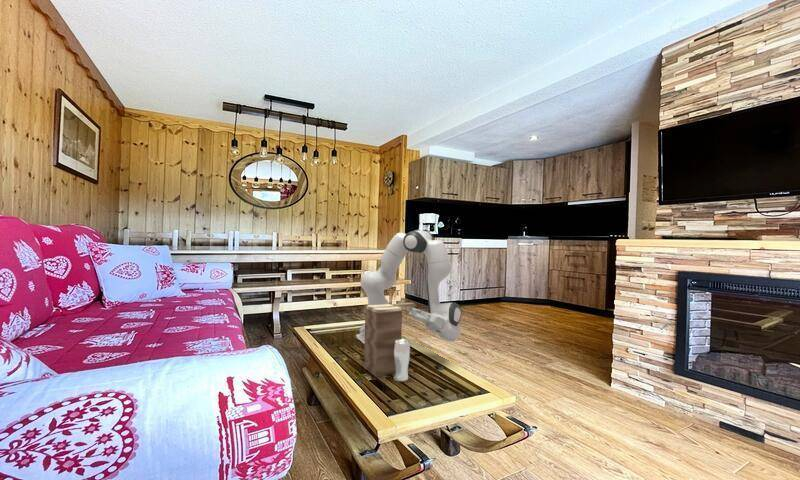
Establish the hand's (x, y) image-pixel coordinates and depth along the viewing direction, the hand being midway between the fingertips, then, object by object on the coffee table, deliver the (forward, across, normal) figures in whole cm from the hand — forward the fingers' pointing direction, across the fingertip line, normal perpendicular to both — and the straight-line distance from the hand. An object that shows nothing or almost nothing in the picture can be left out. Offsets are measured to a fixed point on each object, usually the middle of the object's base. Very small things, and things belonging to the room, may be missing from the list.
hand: (414, 310), depth 156 cm
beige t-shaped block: (+11, 0, +4) cm, 12 cm away
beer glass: (0, +12, +28) cm, 31 cm away
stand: (+2, 0, +29) cm, 29 cm away
